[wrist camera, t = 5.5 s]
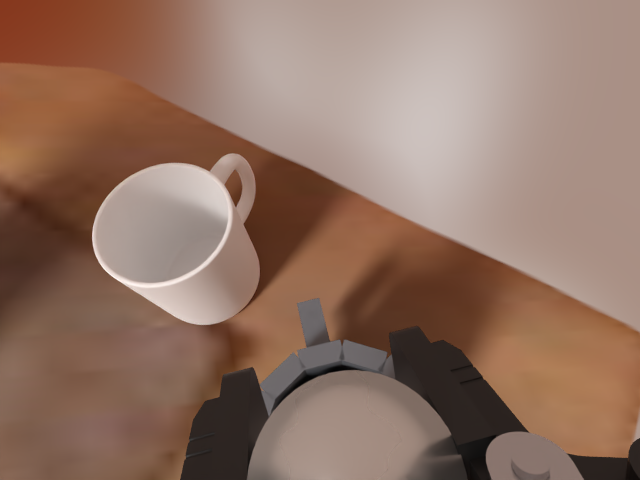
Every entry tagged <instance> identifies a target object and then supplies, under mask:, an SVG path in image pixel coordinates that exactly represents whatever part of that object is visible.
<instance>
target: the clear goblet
mask: <svg viewBox="0 0 640 480" xmlns="http://www.w3.org/2000/svg"><path fill="white" fill-rule="evenodd" d="M247 480H468V479H467V474H466V470H465V467H464V463H463V460H462V457H461V454H460V455H458V453H457V450H456V447H455V444H454V441H453V438H452V435H451V433H450V431H449V429H448V427H447V426H446V425H445V423H444V422H443V420H442V419H441V417H440V416H439V415H438V413H437V412H436V411H435V410H434V409H433V408H432V407H431V406H430V404H429V403H428V402H427V401H425V400H424V399H423V398H422V397H421V396H420V395H419V394H418V393H416V392H415V391H413V390H412V389H410V388H409V387H408V386H406V385H404V384H402V383H400V382H399V381H397V380H395V379H393V378H390V377H387V376H385V375H382V374H378V373H374V372H369V371H360V370H345V371H337V372H332V373H328V374H325V375H322V376H319V377H316V378H314V379H312V380H310V381H308V382H306V383H304V384H303V385H301V386H300V387H298V388H297V389H295V390H294V391H293V392H292V393H291V394H289V395H288V396H287V397H286V398H285V399H284V400H283V401H282V402H281V403H280V404H279V405H278V406H277V408H276V409H275V410H274V411H273V413H272V414H271V416H270V417H269V418H268V420H267V421H266V423H265V425H264V427H263V429H262V430H261V432H260V434H259V436H258V439H257V441H256V444H255V447H254V449H253V452H252V456H251V460H250V464H249V468H248V475H247Z"/></svg>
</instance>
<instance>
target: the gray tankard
mask: <svg viewBox="0 0 640 480" xmlns="http://www.w3.org/2000/svg"><path fill="white" fill-rule="evenodd" d="M297 306H298V310H299V315H300V319H301V324H302V328H303V333H304V337H305V342H306V346H307V348H304V349H300V350H297V352H298V357H299V358H298V357H297V356H296V355H295V354H294V352H293V353H292V354H291V355H290V356H289V357H288V358H287V359H286V360H285V361H284V362H283V363H282V364H281V365H280V366H279V367H278V368H276V369H275V370H274V371H273V372H272V373H271V374H270V375H269V376H268V377H267V378H266V379H265V380H264V381H263V382H262V383H261V384H260V386H261V388H262V389H263V390H264V391H265V392H264V391H261V392H262V396H263V399H264V402H265V405H266V409H267V412H268V416H269V417H270V416H271V414H272V413H273V411H274V410H275V409H276V408H277V406H278V405H279V404H280V403H281V402H282V401H283V400H284V399H285V398H286V397H287V396H288V395H289V394H291V393H292V392H293V391H294V390H295V389H297V388H298V387H300V386H301V385H303V384H304V383H306V382H308V381H310V380H312V379H314V378H316V377H319V376H322V375H325V374H328V373H332V372H337V371H345V370H360V371H369V372H374V373H378V374H382V375H385V376H387V377H390V378H393V379H395V373H394V366H393V360H392V355H390V356H389V357H388V358H387V359H386V357H387V352H385V351H382V350H379V349H375V348H372V347H368V346H365V345H361V344H358V343H355V342H351V341H348V340H344V342H343V346H342V345H341V341H340V340H336V341H332V342H330V340H329V336H328V332H327V328H326V324H325V320H324V316H323V312H322V308H321V304H320V300H319V298H317V299H313V300H309V301H305V302H300V303H297ZM395 380H396V379H395Z"/></svg>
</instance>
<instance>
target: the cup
mask: <svg viewBox="0 0 640 480" xmlns="http://www.w3.org/2000/svg"><path fill="white" fill-rule="evenodd" d="M234 170H236V171H237V172H238V174H239V176H240V178H241V182H242V194H241V198H240V200H239V203H238V205H237V206H236V207H235V205H234V203H233V201H232V199H231V196H230V194H229V192H228V190H227V189H226V187H225V185H224V184H225V183H226V181H227V179H228V178H229V176H230V175H231V173H232V172H233V171H234ZM255 192H256V184H255V177H254V174H253V171H252V169H251V167H250V165H249V163H248V162H247V161H246V159H245V158H243V157H242V156H241V155H239V154H234V153H231V154H227V155H225V156H223V157H222V158H221V159H220V160H219V161H218V162H217V163H216V164H215V165H214V166H213V168H212V169H211V170H210V172H209V171H207V170H205V169H203V168H201V167H198V166H195V165H191V164H186V163H165V164H159V165H155V166H151V167H148V168H146V169H143V170H141V171H139V172H136V173H135V174H133V175H131V176H129V177H128V178H126V179H125V180H124V181H122V182H121V183H120V184H119V185H118V186H116V187H115V188H114V189H113V190H112V191H111V192H110V194H109V195H108V196H107V197H106V199H105V200H104V202H103V203H102V205H101V207H100V208H99V210H98V213H97V215H96V218H95V221H94V225H93V231H92V241H93V248H94V252H95V255H96V257H97V259H98V261H99V263H100V264H101V266H102V267H103V268H104V270H105V271H106V272H107V273H108V274H110V275H111V276H112V277H114V278H115V279H117V280H118V281H120V282H121V283H123V284H125V285H126V286H128V287H129V288H131V289H132V290H134V291H136V292H137V293H139V294H140V295H142V296H143V297H145V298H146V299H148V300H150V301H151V302H153V303H154V304H156V305H157V306H159V307H161V308H162V309H164V310H165V311H167V312H168V313H170V314H172V315H173V316H175V317H177V318H179V319H181V320H183V321H185V322H188V323H192V324H198V325H209V324H215V323H219V322H222V321H225V320H227V319H229V318H231V317H233V316H234V315H236V314H237V313H239V312H240V311H241V310H242V309H243V308H244V307H245V306H246V305H247V304H248V303H249V301H250V300H251V298H252V297H253V295H254V293H255V291H256V289H257V286H258V282H259V277H260V266H259V260H258V256H257V253H256V251H255V248H254V246H253V244H252V242H251V240H250V238H249V235H248V233H247V231H246V229H245V227H244V225H243V224H244V222H245V221H246V219H247V217H248V215H249V213H250V211H251V209H252V206H253V203H254V199H255Z"/></svg>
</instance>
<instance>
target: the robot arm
mask: <svg viewBox="0 0 640 480" xmlns="http://www.w3.org/2000/svg"><path fill="white" fill-rule="evenodd" d="M389 339H390V346H391V353H392V360H393V366H394V373H395V379H396V380H397V381H399V382H400V383H402V384H404V385H406V386H408V387H409V388H410V389H412V390H413V391H415V392H416V393H418V394H419V395H420V396H421V397H422V398H423V399H424V400H425V401H427V402H428V403H429V404H430V406H431V407H432V408H433V409H434V410H435V411H436V412H437V413H438V415H439V416H440V417H441V419H442V420H443V422H444V423H445V425H446V426H447V427H448V429H449V431H450V433H451V435H452V438H453V441H454V444H455V447H456V450H457V453H458V455H460V454H461V457H462V460H463V463H464V467H465V470H466V474H467V479H468V480H640V438H639V439H637V440H636V441H635V442H633V444H632V445H631V446H630V450H629V455H628V458H613V457H586V456H577V455H572V454H567V453H566V452H565V451H564V450H562V449H561V448H560V447H559V446H558V445H556V444H555V443H553V442H552V441H550V440H548V439H546V438H544V437H541V436H539V435H536V434H532V433H529V432H528V431H527V430H526V429H525V427H524V426H523V425H522V424H521V423H520V421H519V420H518V419H517V418H516V417H515V415H514V414H513V413H512V412H511V410H510V409H509V408H508V407H507V406H506V404H505V403H504V402H503V401H502V400H501V398H500V397H499V396H498V395H497V394H496V392H495V391H494V390H493V389H492V387H491V386H490V385H489V384H488V383H487V381H486V380H484V379H483V377H482V375H481V374H480V373H479V372H478V370H477V369H476V368H475V367H473V365H472V363H471V362H470V361H469V360H468V358H467V357H466V356H465V355H464V354H463V352H462V351H461V350H460V349H458V348H456V347H454V346H453V345H451V344H449V343H447V342H446V341H444V340H441V341H437V342H433V343H430V342H429V340H428V339H427V337H426V336H425V335H424V333H423V332H422V331H421V329H420V328H419V327H418V326H414V327H410V328H406V329H402V330H398V331H395V332H391V333H390V334H389ZM268 418H269V416H268V412H267V409H266V405H265V402H264V399H263V396H262V392H261V389H260V386H259V383H258V379H257V376H256V373H255V370H254V368H253V367H251V368H247V369H243V370H239V371H235V372H232V373H228V374H224V375H223V378H222V384H221V391H220V397H219V398H215V399H211V400H207V401H205V402H204V404H203V405H202V407H201V408H200V410H199V412H198V413H197V415H196V416H195V418H194V419H193V423H192V428H191V433H190V437H189V440H190V442H189V443H188V447H187V451H186V460H185V461H184V465H183V470H182V474H181V479H180V480H247V475H248V468H249V464H250V460H251V456H252V452H253V449H254V447H255V444H256V441H257V439H258V436H259V434H260V432H261V430H262V429H263V427H264V425H265V423H266V421H267V420H268Z"/></svg>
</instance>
